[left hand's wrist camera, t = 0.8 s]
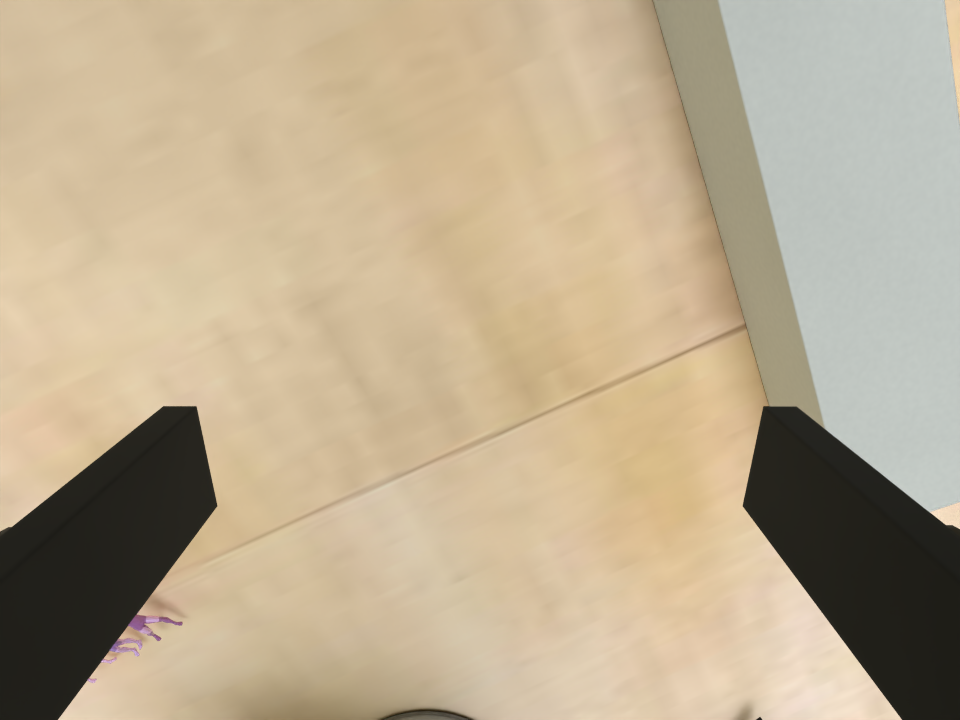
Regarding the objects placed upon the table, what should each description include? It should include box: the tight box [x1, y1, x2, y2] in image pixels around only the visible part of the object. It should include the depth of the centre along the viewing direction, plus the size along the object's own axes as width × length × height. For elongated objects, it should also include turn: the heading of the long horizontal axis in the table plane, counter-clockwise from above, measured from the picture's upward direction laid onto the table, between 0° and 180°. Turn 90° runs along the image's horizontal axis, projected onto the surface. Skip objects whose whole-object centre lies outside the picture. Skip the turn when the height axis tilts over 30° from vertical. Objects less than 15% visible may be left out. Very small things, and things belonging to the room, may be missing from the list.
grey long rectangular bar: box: [653, 0, 960, 512], centre depth 28 cm, size 50×9×8 cm, turn 24°
